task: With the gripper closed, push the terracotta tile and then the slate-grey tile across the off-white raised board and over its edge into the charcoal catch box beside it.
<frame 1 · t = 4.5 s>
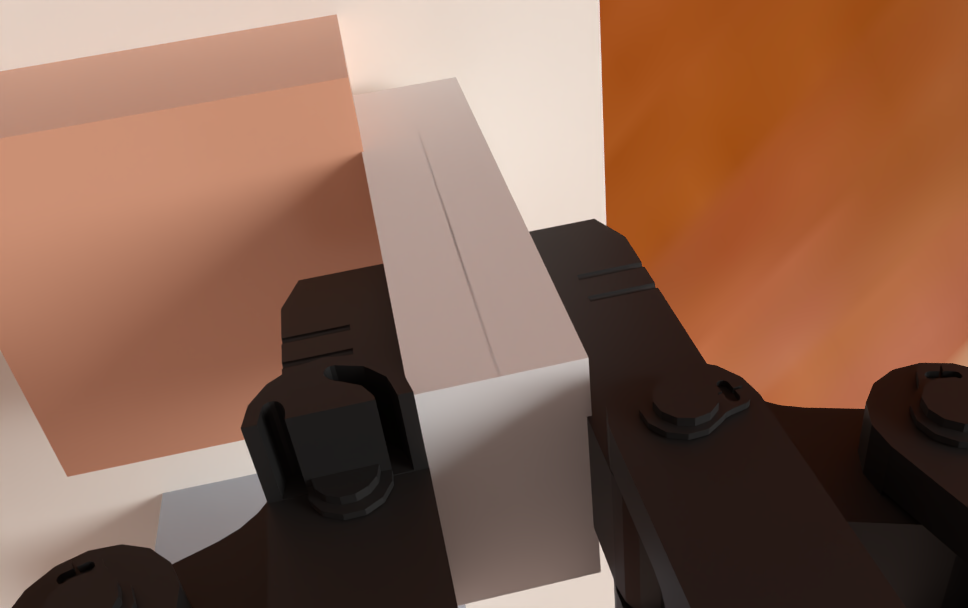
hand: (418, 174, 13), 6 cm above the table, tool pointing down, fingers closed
slate tile: (326, 553, 18), point 5 cm above the table, touching raised board
terracotta tile: (205, 207, 14), point 5 cm above the table, touching gripper, raised board
raised board: (233, 267, 20), on the table
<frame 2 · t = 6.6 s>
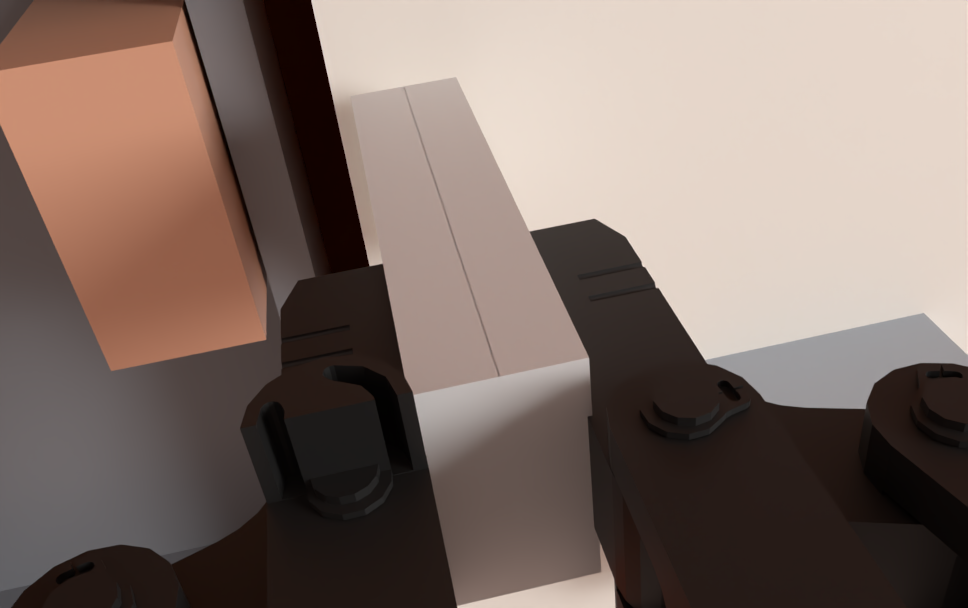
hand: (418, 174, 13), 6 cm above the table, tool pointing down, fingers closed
slate tile: (794, 431, 19), point 5 cm above the table, touching raised board
terracotta tile: (230, 138, 15), point 3 cm above the table, tilted 90°, touching catch box
catch box: (47, 289, 20), on the table
raised board: (666, 169, 21), on the table
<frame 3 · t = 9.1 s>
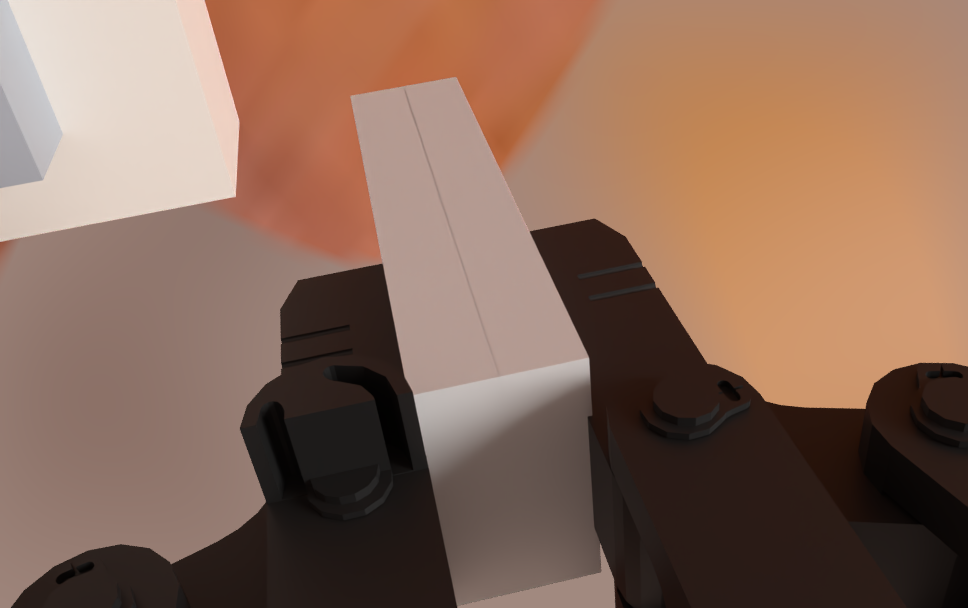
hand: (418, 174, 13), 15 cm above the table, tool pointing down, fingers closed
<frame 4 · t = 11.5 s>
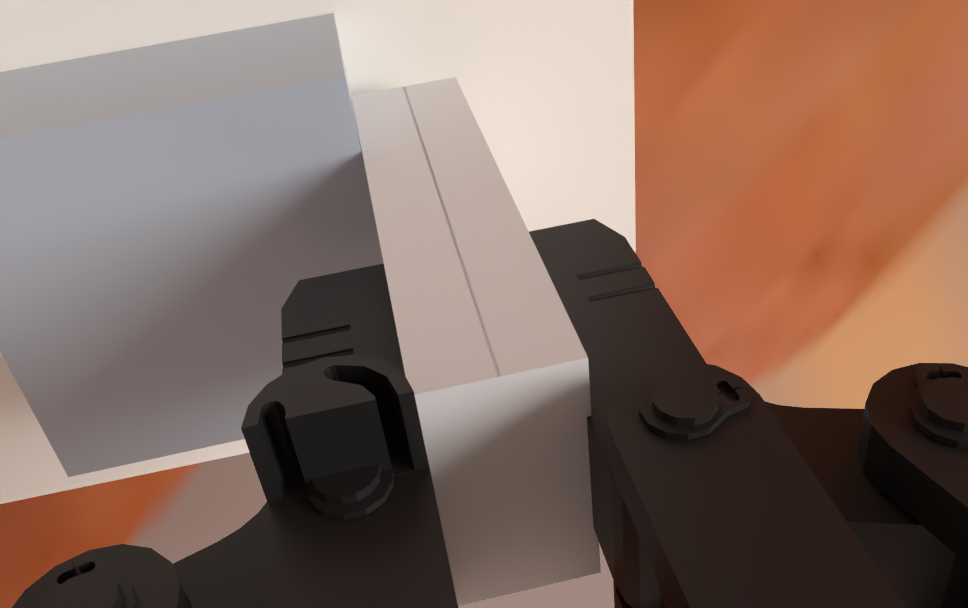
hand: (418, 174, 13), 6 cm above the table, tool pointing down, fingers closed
slate tile: (204, 207, 14), point 5 cm above the table, touching gripper
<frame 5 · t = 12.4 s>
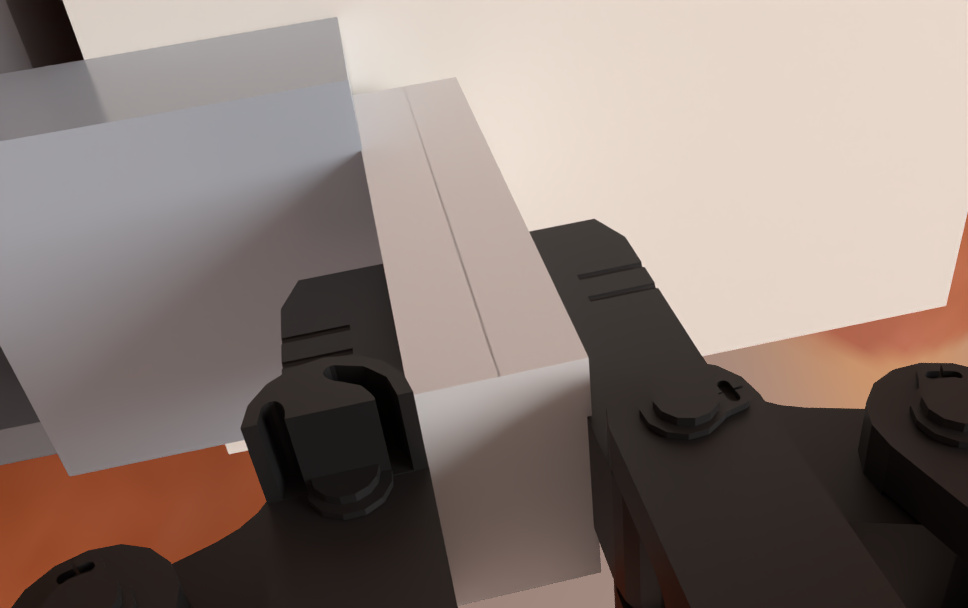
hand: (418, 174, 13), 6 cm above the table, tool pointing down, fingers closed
slate tile: (207, 208, 14), point 5 cm above the table, touching gripper
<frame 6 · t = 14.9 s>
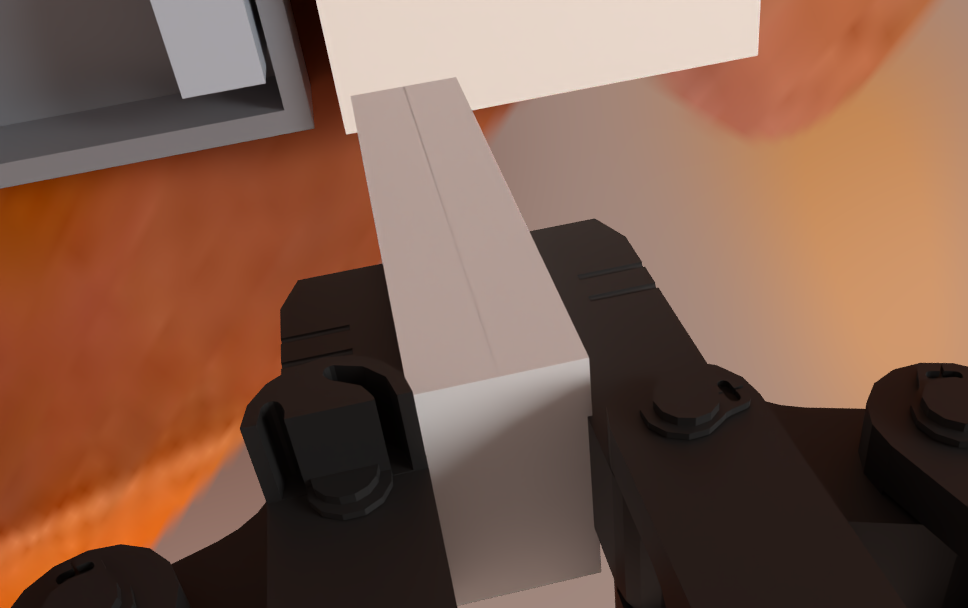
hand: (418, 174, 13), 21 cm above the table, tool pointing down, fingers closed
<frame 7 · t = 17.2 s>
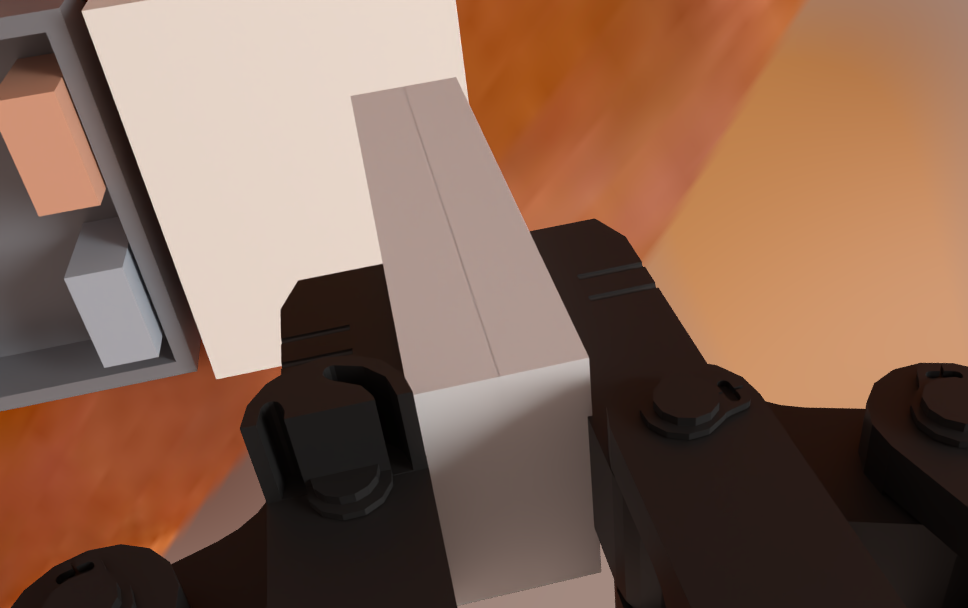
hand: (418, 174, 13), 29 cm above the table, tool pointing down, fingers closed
slate tile: (147, 284, 43), point 3 cm above the table, tilted 90°, touching catch box
terracotta tile: (88, 125, 38), point 3 cm above the table, tilted 90°, touching catch box
catch box: (17, 197, 43), on the table
raised board: (315, 142, 44), on the table
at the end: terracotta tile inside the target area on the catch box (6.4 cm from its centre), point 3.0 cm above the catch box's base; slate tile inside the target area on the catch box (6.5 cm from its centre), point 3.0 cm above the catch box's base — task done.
